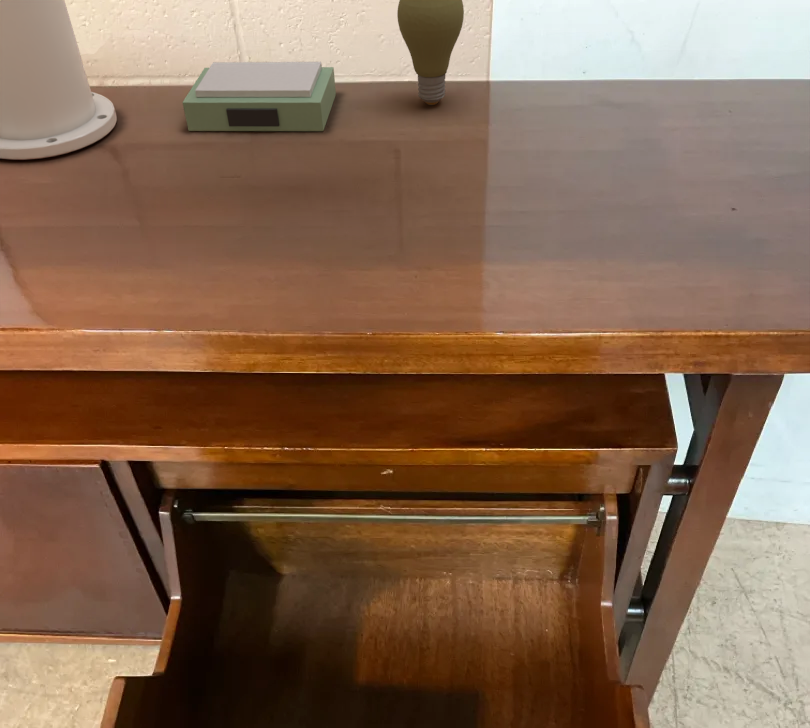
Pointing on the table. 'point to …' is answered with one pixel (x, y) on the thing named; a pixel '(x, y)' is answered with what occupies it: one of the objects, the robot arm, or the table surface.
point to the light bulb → (430, 41)
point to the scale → (261, 97)
